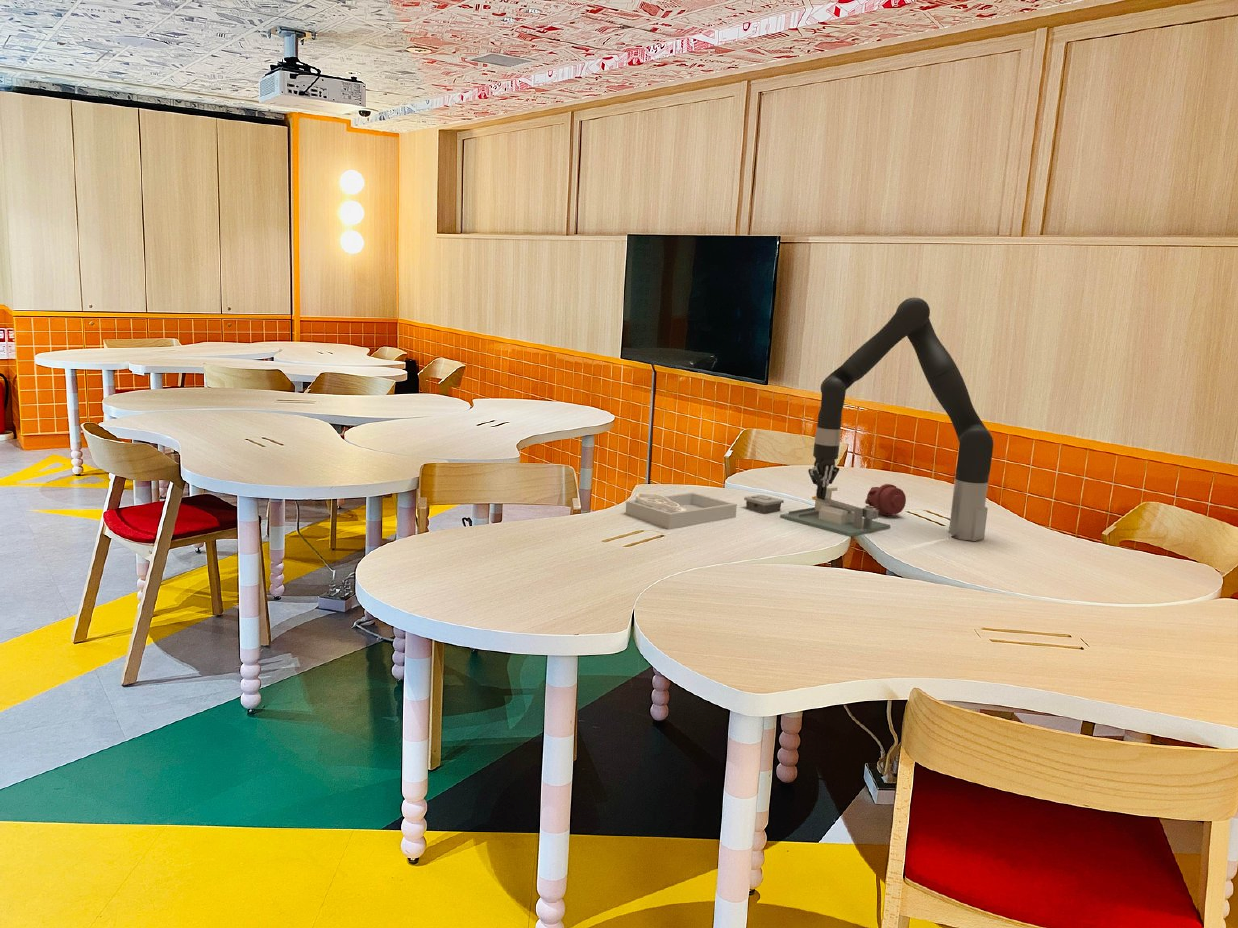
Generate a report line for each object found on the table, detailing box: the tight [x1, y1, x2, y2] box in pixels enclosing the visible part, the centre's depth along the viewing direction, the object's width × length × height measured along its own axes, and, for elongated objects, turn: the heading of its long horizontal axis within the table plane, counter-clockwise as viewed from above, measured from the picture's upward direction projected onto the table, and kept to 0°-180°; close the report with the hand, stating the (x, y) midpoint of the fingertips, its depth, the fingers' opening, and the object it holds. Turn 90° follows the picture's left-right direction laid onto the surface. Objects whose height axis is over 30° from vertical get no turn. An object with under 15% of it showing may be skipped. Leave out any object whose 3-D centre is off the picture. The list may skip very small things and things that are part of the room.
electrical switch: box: [743, 494, 784, 514], centre depth 297 cm, size 9×5×9 cm
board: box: [779, 504, 891, 537], centre depth 284 cm, size 26×20×7 cm
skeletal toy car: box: [635, 492, 686, 513], centre depth 278 cm, size 20×11×7 cm, turn 21°
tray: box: [625, 492, 738, 530], centre depth 282 cm, size 19×28×4 cm
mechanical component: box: [864, 483, 907, 516], centre depth 300 cm, size 12×10×10 cm
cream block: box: [814, 485, 838, 511], centre depth 295 cm, size 5×4×8 cm
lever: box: [811, 495, 880, 520], centre depth 282 cm, size 22×3×2 cm, turn 41°
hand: (820, 498), depth 288 cm, fingers closed
